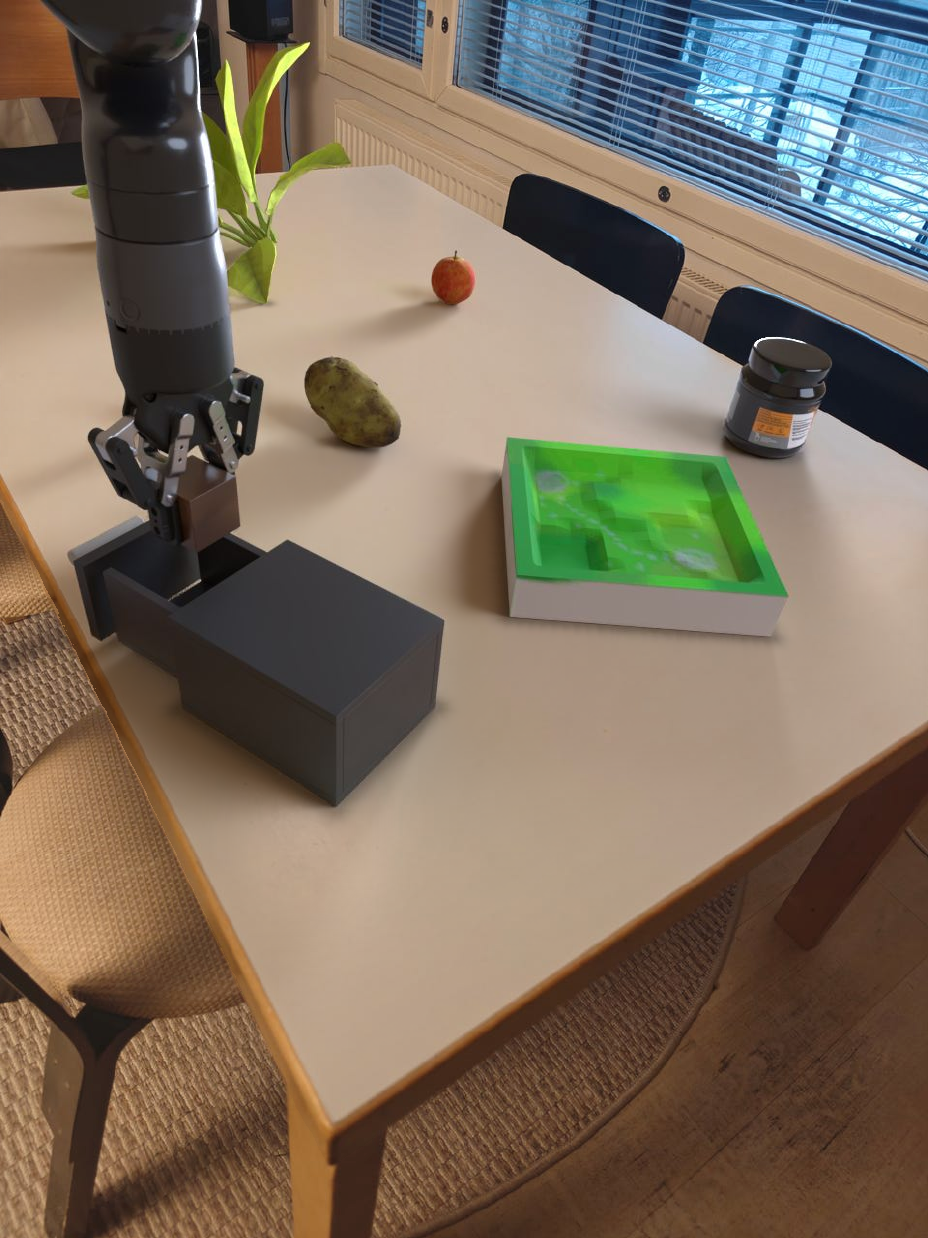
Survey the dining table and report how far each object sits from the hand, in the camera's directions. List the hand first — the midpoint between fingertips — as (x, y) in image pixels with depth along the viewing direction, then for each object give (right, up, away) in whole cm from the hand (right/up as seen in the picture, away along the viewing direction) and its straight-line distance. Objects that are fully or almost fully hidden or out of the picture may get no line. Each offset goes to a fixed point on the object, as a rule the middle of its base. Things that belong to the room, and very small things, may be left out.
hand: (196, 524), depth 65 cm
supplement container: (+59, +16, +47) cm, 77 cm away
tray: (+37, 0, +26) cm, 45 cm away
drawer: (-4, -8, +9) cm, 12 cm away
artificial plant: (-20, +52, +78) cm, 96 cm away
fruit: (+18, +44, +73) cm, 87 cm away
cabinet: (+8, -14, +4) cm, 17 cm away
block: (0, 0, 0) cm, 0 cm away
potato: (+7, +15, +39) cm, 42 cm away
